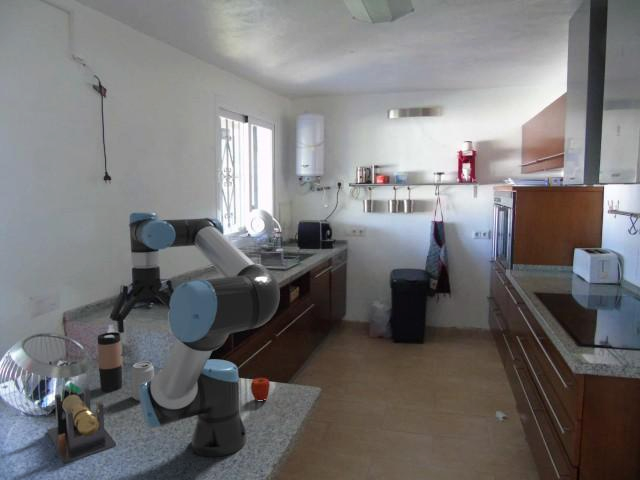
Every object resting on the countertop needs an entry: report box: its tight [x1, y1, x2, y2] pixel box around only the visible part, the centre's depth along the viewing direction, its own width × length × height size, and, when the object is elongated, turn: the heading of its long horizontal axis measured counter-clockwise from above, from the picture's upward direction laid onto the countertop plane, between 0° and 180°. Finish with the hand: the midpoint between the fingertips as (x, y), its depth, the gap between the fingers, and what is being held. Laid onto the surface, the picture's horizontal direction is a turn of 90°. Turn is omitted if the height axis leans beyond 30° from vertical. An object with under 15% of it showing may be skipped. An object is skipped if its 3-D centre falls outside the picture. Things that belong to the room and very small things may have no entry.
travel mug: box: [97, 331, 123, 393], centre depth 166 cm, size 8×8×20 cm
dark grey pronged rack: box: [46, 386, 117, 465], centre depth 131 cm, size 22×13×12 cm, turn 41°
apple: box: [250, 377, 271, 401], centre depth 155 cm, size 6×6×8 cm
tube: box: [61, 394, 99, 436], centre depth 131 cm, size 20×5×5 cm, turn 41°
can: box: [130, 360, 155, 402], centre depth 159 cm, size 8×8×12 cm
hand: (149, 338), depth 132 cm, fingers open, 13 cm apart
